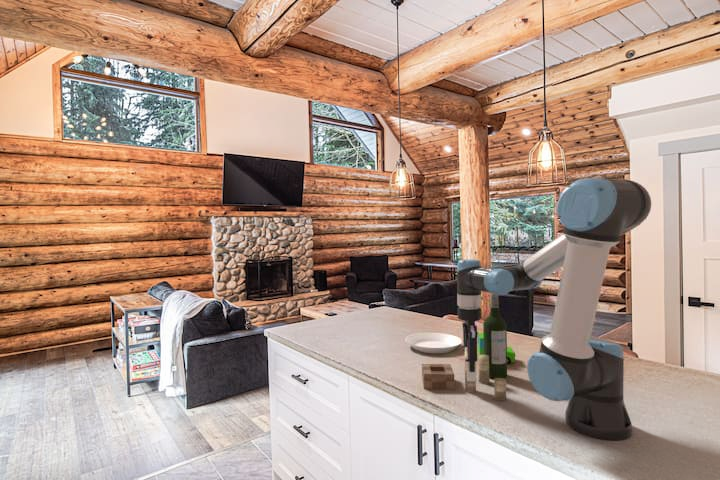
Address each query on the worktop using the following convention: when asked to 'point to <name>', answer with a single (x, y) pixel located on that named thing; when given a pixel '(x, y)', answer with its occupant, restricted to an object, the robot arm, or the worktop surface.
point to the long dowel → (469, 385)
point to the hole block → (438, 376)
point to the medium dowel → (484, 369)
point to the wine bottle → (495, 340)
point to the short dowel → (500, 389)
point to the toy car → (481, 349)
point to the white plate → (433, 342)
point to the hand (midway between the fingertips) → (470, 378)
